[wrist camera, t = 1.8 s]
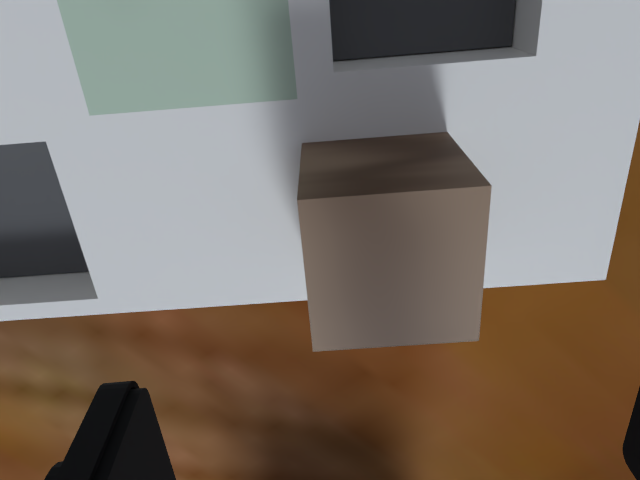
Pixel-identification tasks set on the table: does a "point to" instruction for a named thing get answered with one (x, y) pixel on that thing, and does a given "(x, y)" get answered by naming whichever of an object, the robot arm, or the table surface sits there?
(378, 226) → the walnut block
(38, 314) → the deck
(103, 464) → the robot arm
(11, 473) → the table surface
